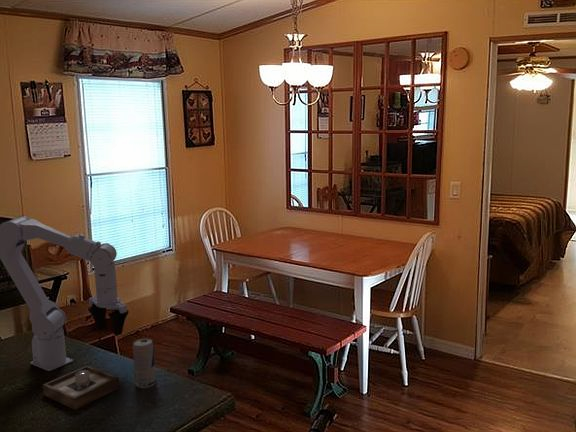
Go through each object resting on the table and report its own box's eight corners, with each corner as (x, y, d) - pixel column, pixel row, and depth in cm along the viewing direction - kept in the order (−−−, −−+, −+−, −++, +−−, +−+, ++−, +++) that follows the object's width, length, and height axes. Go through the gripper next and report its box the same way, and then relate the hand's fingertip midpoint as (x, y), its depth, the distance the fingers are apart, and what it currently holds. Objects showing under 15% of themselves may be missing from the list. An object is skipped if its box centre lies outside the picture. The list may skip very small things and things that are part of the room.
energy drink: (157, 379, 155) (155, 337, 153) (153, 388, 150) (151, 345, 148) (138, 379, 155) (135, 338, 153) (133, 389, 150) (130, 346, 147)
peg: (73, 392, 148) (71, 375, 148) (83, 386, 152) (81, 369, 151) (84, 395, 147) (82, 377, 146) (94, 388, 150) (92, 371, 149)
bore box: (43, 395, 147) (42, 384, 147) (88, 375, 158) (87, 365, 158) (75, 409, 140) (74, 398, 139) (119, 387, 150) (118, 377, 150)
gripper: (134, 287, 161) (137, 332, 164) (101, 279, 169) (105, 322, 172) (113, 293, 156) (117, 340, 158) (81, 285, 164) (85, 330, 166)
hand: (109, 331), depth 165 cm, fingers open, 7 cm apart
